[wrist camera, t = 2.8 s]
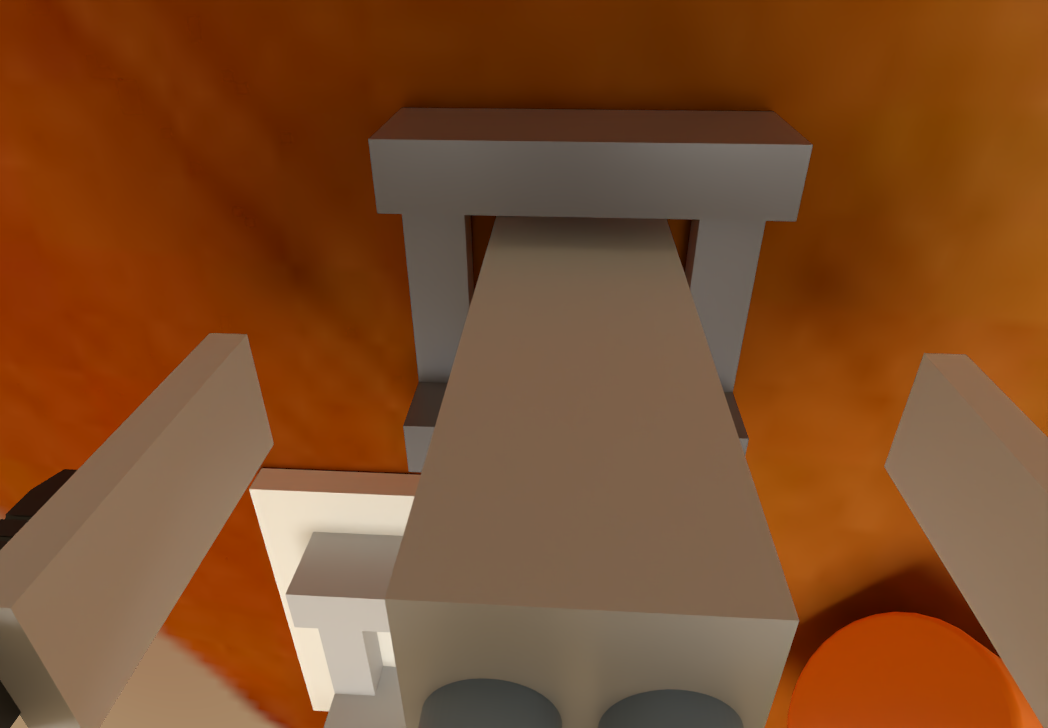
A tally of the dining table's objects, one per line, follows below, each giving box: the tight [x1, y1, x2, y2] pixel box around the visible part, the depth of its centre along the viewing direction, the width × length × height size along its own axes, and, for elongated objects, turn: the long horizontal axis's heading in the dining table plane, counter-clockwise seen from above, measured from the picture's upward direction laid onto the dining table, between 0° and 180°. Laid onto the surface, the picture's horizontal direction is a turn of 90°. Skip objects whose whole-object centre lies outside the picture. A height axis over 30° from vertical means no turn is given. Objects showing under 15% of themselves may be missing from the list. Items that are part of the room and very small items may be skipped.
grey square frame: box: [368, 108, 813, 472], centre depth 16 cm, size 8×8×3 cm
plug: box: [385, 216, 799, 728], centre depth 12 cm, size 4×4×14 cm
